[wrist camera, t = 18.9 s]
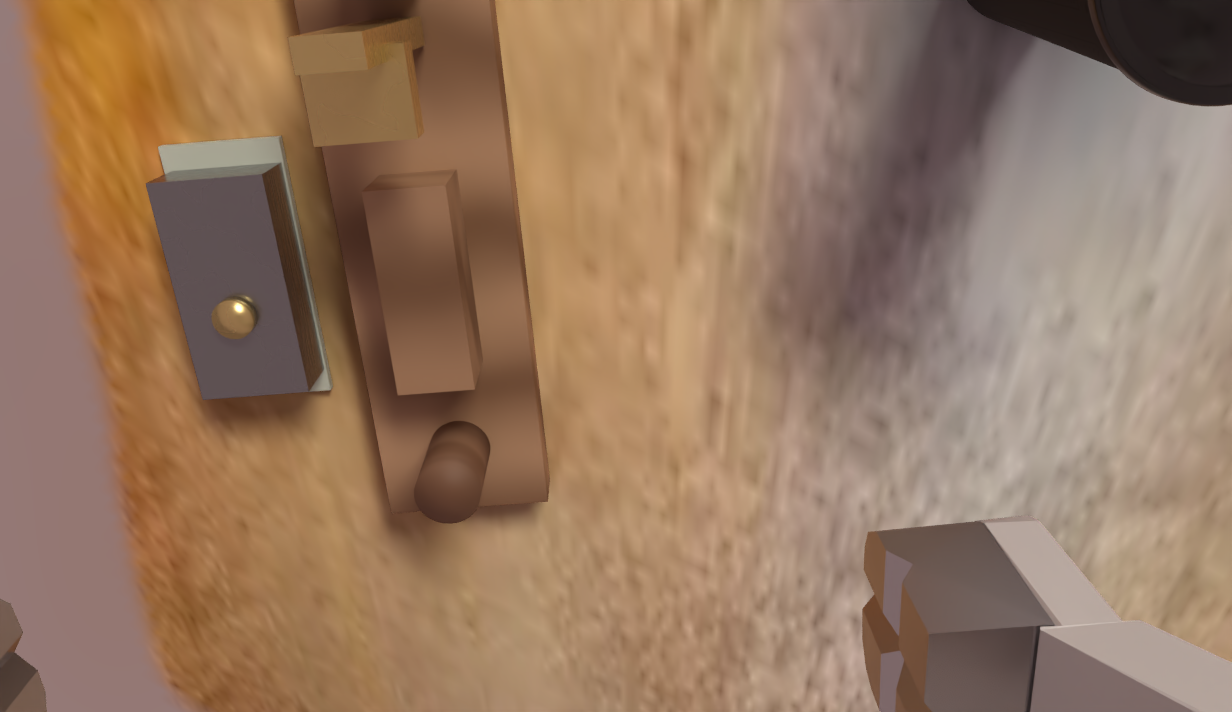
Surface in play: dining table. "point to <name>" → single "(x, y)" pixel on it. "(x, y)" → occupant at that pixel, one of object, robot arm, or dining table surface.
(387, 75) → the lever
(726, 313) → the dining table surface
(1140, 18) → the drinking cup
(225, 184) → the purple-grey knobbed block
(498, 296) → the plane body
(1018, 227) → the dining table surface
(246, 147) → the pale grey flat slab
